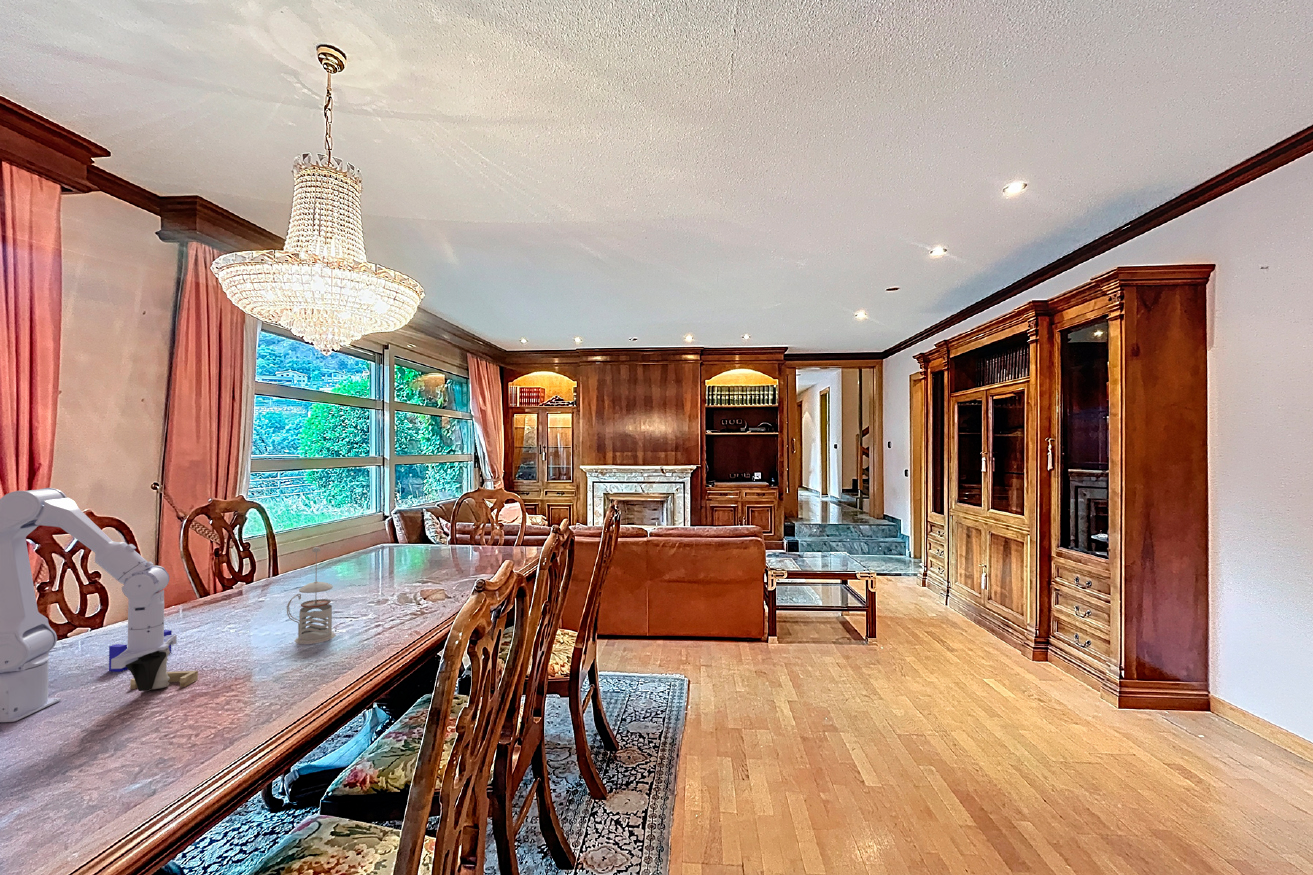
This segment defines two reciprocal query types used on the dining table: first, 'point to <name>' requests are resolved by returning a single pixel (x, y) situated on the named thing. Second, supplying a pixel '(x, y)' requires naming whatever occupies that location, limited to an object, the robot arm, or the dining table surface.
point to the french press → (314, 614)
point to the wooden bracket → (176, 678)
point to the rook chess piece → (162, 673)
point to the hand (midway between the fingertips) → (145, 689)
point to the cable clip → (120, 648)
